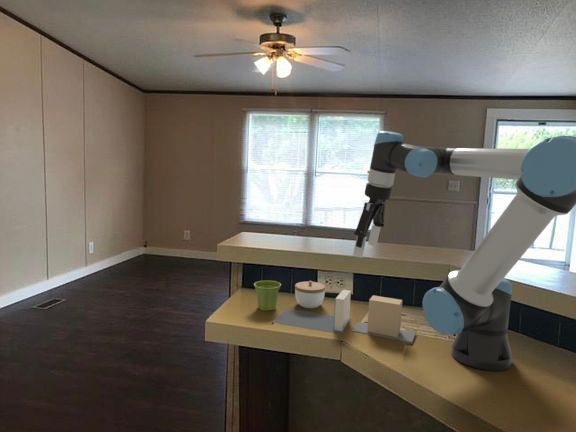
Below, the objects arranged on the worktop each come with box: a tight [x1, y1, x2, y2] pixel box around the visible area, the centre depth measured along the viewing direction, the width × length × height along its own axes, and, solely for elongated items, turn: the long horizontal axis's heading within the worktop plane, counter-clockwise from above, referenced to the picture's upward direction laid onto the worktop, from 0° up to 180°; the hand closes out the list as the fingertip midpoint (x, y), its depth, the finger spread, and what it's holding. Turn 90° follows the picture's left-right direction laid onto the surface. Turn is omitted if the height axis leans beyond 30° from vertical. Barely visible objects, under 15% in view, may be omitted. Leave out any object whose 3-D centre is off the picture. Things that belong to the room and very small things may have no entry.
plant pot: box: [253, 280, 282, 312], centre depth 156 cm, size 9×9×9 cm
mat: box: [271, 308, 353, 335], centre depth 144 cm, size 23×14×1 cm, turn 70°
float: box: [351, 294, 417, 346], centre depth 136 cm, size 18×8×11 cm, turn 66°
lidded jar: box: [294, 280, 326, 309], centre depth 159 cm, size 11×11×9 cm
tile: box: [333, 289, 352, 331], centre depth 141 cm, size 3×10×10 cm, turn 160°
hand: (365, 250), depth 139 cm, fingers open, 13 cm apart
